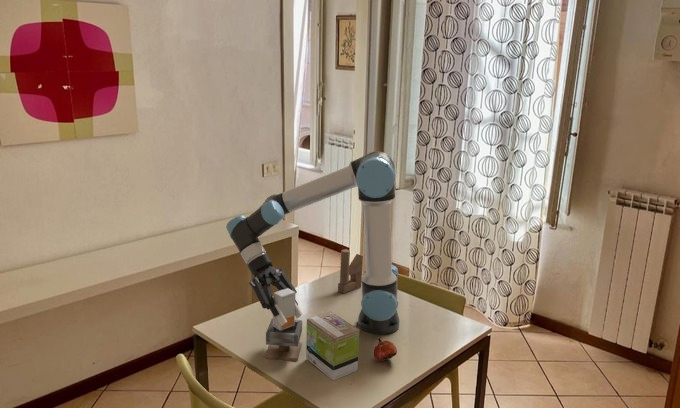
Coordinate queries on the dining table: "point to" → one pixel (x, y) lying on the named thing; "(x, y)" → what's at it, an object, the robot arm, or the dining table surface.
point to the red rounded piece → (384, 350)
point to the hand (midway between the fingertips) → (292, 320)
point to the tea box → (332, 345)
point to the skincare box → (285, 307)
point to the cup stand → (284, 342)
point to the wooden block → (350, 272)
